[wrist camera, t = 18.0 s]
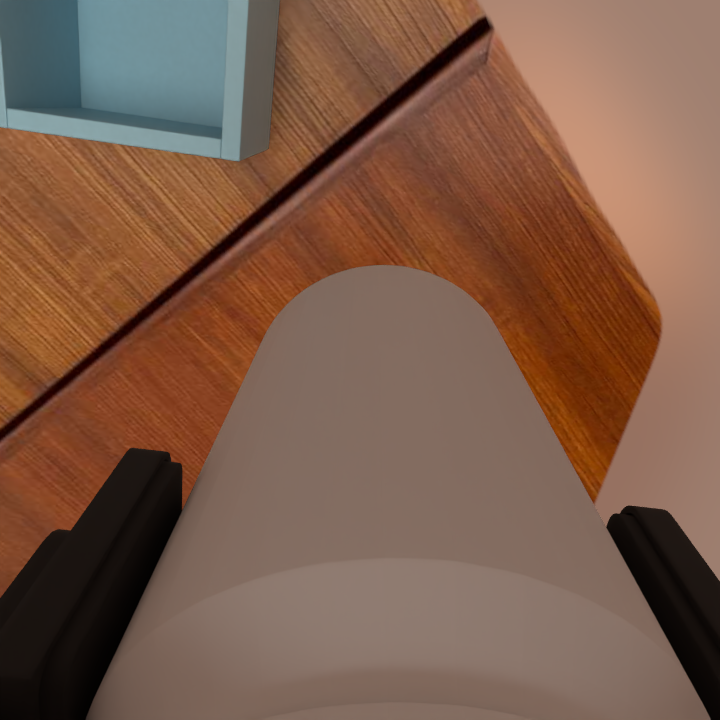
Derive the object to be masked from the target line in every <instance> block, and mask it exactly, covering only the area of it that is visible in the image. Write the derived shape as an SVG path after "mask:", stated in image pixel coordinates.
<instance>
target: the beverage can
mask: <svg viewBox="0 0 720 720" xmlns="http://www.w3.org/2000/svg"><path fill="white" fill-rule="evenodd" d="M86 720H711V719H710V717H709V715H708V713H707V711H706V709H705V707H704V705H703V703H702V701H701V700H700V698H699V696H698V694H697V692H696V691H695V689H694V687H693V685H692V683H691V681H690V680H689V678H688V676H687V674H686V672H685V670H684V669H683V667H682V665H681V663H680V661H679V659H678V658H677V656H676V654H675V652H674V650H673V649H672V647H671V645H670V643H669V641H668V639H667V638H666V636H665V634H664V632H663V630H662V628H661V627H660V625H659V623H658V621H657V619H656V617H655V616H654V614H653V612H652V610H651V608H650V607H649V605H648V603H647V601H646V599H645V597H644V596H643V594H642V592H641V590H640V588H639V586H638V585H637V583H636V581H635V579H634V577H633V575H632V574H631V572H630V570H629V568H628V566H627V565H626V563H625V561H624V559H623V557H622V555H621V554H620V552H619V550H618V548H617V546H616V544H615V543H614V541H613V539H612V537H611V535H610V533H609V532H608V530H607V528H606V526H605V524H604V523H603V521H602V519H601V517H600V515H599V513H598V512H597V510H596V508H595V506H594V504H593V502H592V501H591V499H590V497H589V495H588V493H587V491H586V490H585V488H584V486H583V484H582V482H581V481H580V479H579V477H578V475H577V473H576V471H575V470H574V468H573V466H572V464H571V462H570V460H569V459H568V457H567V455H566V453H565V451H564V449H563V448H562V446H561V444H560V442H559V440H558V439H557V437H556V435H555V433H554V431H553V429H552V428H551V426H550V424H549V422H548V420H547V418H546V417H545V415H544V413H543V411H542V409H541V408H540V406H539V404H538V402H537V400H536V398H535V397H534V395H533V393H532V391H531V389H530V387H529V386H528V384H527V382H526V380H525V378H524V376H523V375H522V373H521V371H520V369H519V367H518V366H517V364H516V362H515V360H514V358H513V356H512V355H511V353H510V351H509V349H508V347H507V345H506V344H505V342H504V340H503V338H502V336H501V335H500V333H499V331H498V329H497V327H496V326H495V324H494V322H493V321H492V319H491V318H490V316H489V315H488V313H487V312H486V311H485V310H484V309H483V308H482V307H481V306H480V305H479V304H478V303H477V302H476V301H475V300H474V299H473V298H472V297H471V296H470V295H469V294H467V293H466V292H465V291H463V290H462V289H460V288H459V287H457V286H456V285H454V284H453V283H451V282H449V281H447V280H445V279H443V278H441V277H439V276H436V275H434V274H431V273H428V272H425V271H422V270H418V269H414V268H409V267H404V266H393V265H374V266H364V267H357V268H353V269H348V270H345V271H342V272H338V273H336V274H333V275H330V276H328V277H326V278H324V279H322V280H320V281H318V282H316V283H314V284H312V285H311V286H309V287H308V288H306V289H305V290H303V291H302V292H301V293H299V294H298V295H297V296H296V297H294V298H293V299H292V300H291V301H290V302H289V303H288V304H287V305H286V306H285V307H284V308H283V309H282V311H281V312H280V313H279V314H278V315H277V316H276V318H275V319H274V321H273V322H272V324H271V325H270V327H269V329H268V330H267V332H266V334H265V336H264V338H263V340H262V342H261V344H260V347H259V349H258V351H257V353H256V355H255V357H254V359H253V361H252V364H251V366H250V368H249V370H248V372H247V374H246V376H245V378H244V381H243V383H242V385H241V387H240V389H239V391H238V393H237V395H236V398H235V400H234V402H233V404H232V406H231V408H230V410H229V412H228V415H227V417H226V419H225V421H224V423H223V425H222V427H221V429H220V432H219V434H218V436H217V438H216V440H215V442H214V444H213V446H212V449H211V451H210V453H209V455H208V457H207V459H206V461H205V463H204V466H203V468H202V470H201V472H200V474H199V476H198V478H197V480H196V482H195V485H194V487H193V489H192V491H191V493H190V495H189V497H188V499H187V502H186V504H185V506H184V508H183V510H182V512H181V514H180V516H179V519H178V521H177V523H176V525H175V527H174V529H173V531H172V533H171V536H170V538H169V540H168V542H167V544H166V546H165V548H164V550H163V553H162V555H161V557H160V559H159V561H158V563H157V565H156V567H155V570H154V572H153V574H152V576H151V578H150V580H149V582H148V584H147V587H146V589H145V591H144V593H143V595H142V597H141V599H140V601H139V604H138V606H137V608H136V610H135V612H134V614H133V616H132V618H131V621H130V623H129V625H128V627H127V629H126V631H125V633H124V635H123V638H122V640H121V642H120V644H119V646H118V648H117V650H116V652H115V655H114V657H113V659H112V661H111V663H110V665H109V667H108V669H107V672H106V674H105V676H104V678H103V680H102V682H101V684H100V686H99V689H98V691H97V693H96V695H95V697H94V699H93V702H92V704H91V707H90V709H89V712H88V715H87V717H86Z"/></svg>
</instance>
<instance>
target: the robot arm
mask: <svg viewBox="0 0 720 720" xmlns="http://www.w3.org/2000/svg"><path fill="white" fill-rule="evenodd" d="M181 512H182V465H181V464H180V463H175V462H171V457H170V454H169V453H168V452H164V451H155V450H146V449H138V448H130V449H129V450H128V451H127V452H126V454H125V455H124V456H123V458H122V459H121V461H120V462H119V463H118V465H117V466H116V468H115V469H114V470H113V472H112V473H111V475H110V476H109V478H108V479H107V480H106V482H105V483H104V485H103V486H102V487H101V489H100V490H99V492H98V493H97V494H96V496H95V497H94V499H93V500H92V501H91V503H90V504H89V506H88V507H87V509H86V510H85V511H84V513H83V514H82V516H81V517H80V518H79V520H78V521H77V523H76V524H75V525H74V527H73V528H72V530H71V531H69V530H60V529H58V530H55V531H53V532H51V533H50V535H49V536H48V537H47V538H46V539H45V540H44V541H43V542H42V544H41V545H40V546H39V548H38V549H37V550H36V552H35V553H34V554H33V556H32V557H31V558H30V560H29V561H28V562H27V564H26V565H25V566H24V568H23V569H22V570H21V572H20V573H19V574H18V576H17V577H16V578H15V580H14V581H13V582H12V583H11V585H10V586H9V587H8V589H7V590H6V591H5V593H4V594H3V595H2V597H1V598H0V720H86V717H87V715H88V712H89V709H90V707H91V704H92V702H93V699H94V697H95V695H96V693H97V691H98V689H99V686H100V684H101V682H102V680H103V678H104V676H105V674H106V672H107V669H108V667H109V665H110V663H111V661H112V659H113V657H114V655H115V652H116V650H117V648H118V646H119V644H120V642H121V640H122V638H123V635H124V633H125V631H126V629H127V627H128V625H129V623H130V621H131V618H132V616H133V614H134V612H135V610H136V608H137V606H138V604H139V601H140V599H141V597H142V595H143V593H144V591H145V589H146V587H147V584H148V582H149V580H150V578H151V576H152V574H153V572H154V570H155V567H156V565H157V563H158V561H159V559H160V557H161V555H162V553H163V550H164V548H165V546H166V544H167V542H168V540H169V538H170V536H171V533H172V531H173V529H174V527H175V525H176V523H177V521H178V519H179V516H180V514H181ZM606 528H607V530H608V532H609V533H610V535H611V537H612V539H613V541H614V543H615V544H616V546H617V548H618V550H619V552H620V554H621V555H622V557H623V559H624V561H625V563H626V565H627V566H628V568H629V570H630V572H631V574H632V575H633V577H634V579H635V581H636V583H637V585H638V586H639V588H640V590H641V592H642V594H643V596H644V597H645V599H646V601H647V603H648V605H649V607H650V608H651V610H652V612H653V614H654V616H655V617H656V619H657V621H658V623H659V625H660V627H661V628H662V630H663V632H664V634H665V636H666V638H667V639H668V641H669V643H670V645H671V647H672V649H673V650H674V652H675V654H676V656H677V658H678V659H679V661H680V663H681V665H682V667H683V669H684V670H685V672H686V674H687V676H688V678H689V680H690V681H691V683H692V685H693V687H694V689H695V691H696V692H697V694H698V696H699V698H700V700H701V701H702V703H703V705H704V707H705V709H706V711H707V713H708V715H709V717H710V719H711V720H720V581H719V580H718V578H717V577H716V576H715V574H714V573H713V572H712V570H711V569H710V568H709V566H708V565H707V563H706V562H705V561H704V559H703V558H702V556H701V555H700V554H699V552H698V551H697V550H696V548H695V547H694V546H693V544H692V543H691V541H690V540H689V539H688V537H687V536H686V535H685V533H684V532H683V530H682V529H681V528H680V526H679V525H678V523H677V522H676V521H675V519H674V518H673V517H672V515H671V514H670V513H669V512H668V511H666V510H663V509H655V508H646V507H638V506H626V507H625V508H624V509H623V510H622V511H621V513H620V514H613V515H612V516H611V517H610V519H609V521H608V524H607V527H606Z"/></svg>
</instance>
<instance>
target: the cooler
mask: <svg viewBox="0 0 720 720" xmlns="http://www.w3.org/2000/svg"><path fill="white" fill-rule="evenodd" d="M279 5H280V0H0V127H2V128H10V129H16V130H23V131H30V132H37V133H44V134H51V135H58V136H65V137H72V138H79V139H86V140H93V141H100V142H107V143H114V144H121V145H128V146H135V147H142V148H149V149H156V150H163V151H170V152H177V153H184V154H190V155H197V156H204V157H211V158H218V159H220V158H221V159H225V160H232V161H241V160H243V159H246V158H248V157H251V156H253V155H255V154H258V153H260V152H263V151H265V150H267V149H269V138H270V125H271V112H272V98H273V85H274V71H275V58H276V45H277V31H278V18H279Z"/></svg>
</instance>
